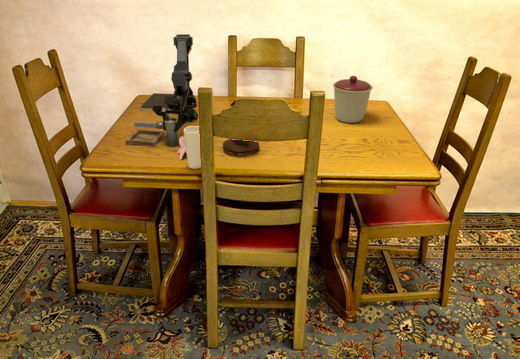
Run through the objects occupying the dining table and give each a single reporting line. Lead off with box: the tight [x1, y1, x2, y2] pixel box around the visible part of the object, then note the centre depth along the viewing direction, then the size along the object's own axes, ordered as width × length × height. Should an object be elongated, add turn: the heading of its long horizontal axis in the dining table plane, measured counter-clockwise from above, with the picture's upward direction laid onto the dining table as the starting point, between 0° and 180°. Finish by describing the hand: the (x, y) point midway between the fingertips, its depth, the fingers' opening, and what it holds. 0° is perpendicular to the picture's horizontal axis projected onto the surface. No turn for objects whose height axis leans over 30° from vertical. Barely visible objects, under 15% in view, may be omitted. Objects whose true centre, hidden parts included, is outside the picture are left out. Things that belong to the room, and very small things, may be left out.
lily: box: [177, 136, 186, 161], centre depth 180 cm, size 12×12×10 cm
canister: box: [332, 75, 373, 124], centre depth 213 cm, size 18×18×21 cm
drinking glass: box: [183, 125, 202, 170], centre depth 168 cm, size 7×7×15 cm
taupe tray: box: [124, 128, 166, 148], centre depth 194 cm, size 12×12×2 cm
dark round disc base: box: [222, 99, 260, 157], centre depth 181 cm, size 15×15×20 cm
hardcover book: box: [139, 92, 174, 112], centre depth 236 cm, size 16×23×2 cm
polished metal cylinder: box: [165, 117, 179, 148], centre depth 187 cm, size 5×5×11 cm
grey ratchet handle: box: [133, 120, 164, 130], centre depth 207 cm, size 14×4×2 cm, turn 81°
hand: (169, 131), depth 185 cm, fingers closed on polished metal cylinder, 5 cm apart
